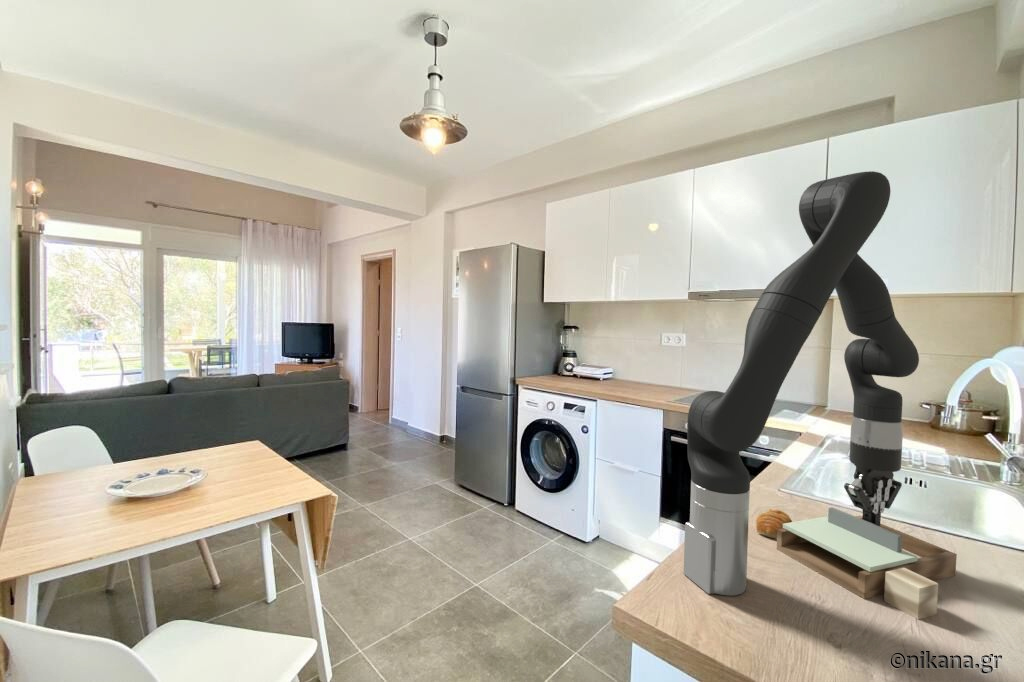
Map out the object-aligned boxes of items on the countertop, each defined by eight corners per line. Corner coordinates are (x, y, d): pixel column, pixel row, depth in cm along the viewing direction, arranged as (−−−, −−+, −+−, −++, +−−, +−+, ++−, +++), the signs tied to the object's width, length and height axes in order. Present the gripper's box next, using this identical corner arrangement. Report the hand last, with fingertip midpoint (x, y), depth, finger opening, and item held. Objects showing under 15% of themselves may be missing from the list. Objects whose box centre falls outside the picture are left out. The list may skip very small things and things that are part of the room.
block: (917, 619, 64) (919, 588, 64) (884, 601, 68) (885, 571, 68) (936, 614, 65) (938, 583, 65) (902, 596, 69) (903, 567, 69)
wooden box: (864, 598, 68) (865, 575, 68) (776, 548, 84) (777, 529, 84) (955, 575, 76) (956, 554, 75) (859, 533, 91) (860, 515, 91)
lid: (870, 572, 69) (871, 550, 69) (782, 527, 84) (783, 509, 84) (917, 561, 72) (918, 540, 72) (825, 520, 87) (826, 503, 87)
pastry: (783, 545, 86) (784, 527, 85) (748, 533, 91) (748, 516, 90) (796, 530, 92) (796, 514, 92) (762, 520, 97) (762, 504, 97)
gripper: (873, 450, 74) (869, 544, 75) (921, 445, 78) (917, 534, 79) (830, 439, 81) (826, 525, 82) (876, 434, 85) (872, 517, 86)
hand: (871, 529), depth 80 cm, fingers closed
